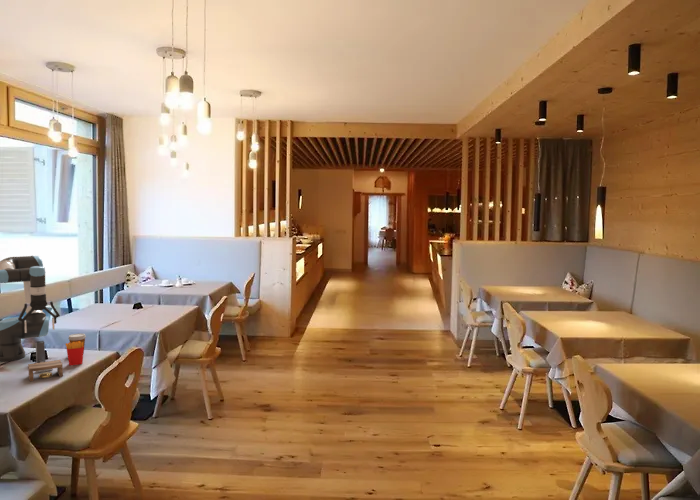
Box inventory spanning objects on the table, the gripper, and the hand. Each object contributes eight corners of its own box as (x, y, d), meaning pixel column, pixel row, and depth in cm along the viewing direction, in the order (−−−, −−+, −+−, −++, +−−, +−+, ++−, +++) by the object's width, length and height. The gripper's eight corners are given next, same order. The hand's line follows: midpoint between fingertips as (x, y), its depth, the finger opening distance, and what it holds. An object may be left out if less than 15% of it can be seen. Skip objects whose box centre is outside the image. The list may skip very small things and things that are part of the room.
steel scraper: (32, 362, 303) (31, 342, 302) (48, 360, 308) (47, 340, 306) (35, 372, 285) (34, 351, 284) (52, 370, 289) (51, 349, 288)
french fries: (84, 361, 305) (83, 339, 304) (84, 363, 301) (83, 341, 300) (66, 364, 301) (65, 341, 300) (66, 366, 297) (65, 343, 296)
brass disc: (38, 376, 280) (38, 373, 280) (51, 374, 284) (51, 371, 284) (39, 379, 275) (39, 376, 275) (52, 377, 279) (52, 374, 279)
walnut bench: (28, 376, 279) (28, 364, 279) (60, 371, 288) (60, 359, 287) (30, 381, 271) (29, 369, 271) (62, 376, 280) (62, 364, 279)
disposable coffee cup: (79, 357, 314) (78, 337, 313) (65, 356, 316) (64, 336, 315) (90, 352, 323) (89, 333, 322) (76, 351, 325) (75, 332, 324)
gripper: (12, 297, 285) (14, 335, 287) (64, 293, 299) (65, 329, 301) (11, 294, 291) (13, 332, 293) (62, 290, 305) (63, 326, 307)
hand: (39, 330), depth 297 cm, fingers open, 13 cm apart
